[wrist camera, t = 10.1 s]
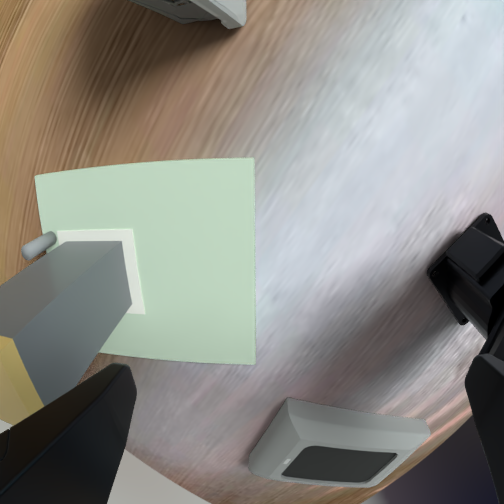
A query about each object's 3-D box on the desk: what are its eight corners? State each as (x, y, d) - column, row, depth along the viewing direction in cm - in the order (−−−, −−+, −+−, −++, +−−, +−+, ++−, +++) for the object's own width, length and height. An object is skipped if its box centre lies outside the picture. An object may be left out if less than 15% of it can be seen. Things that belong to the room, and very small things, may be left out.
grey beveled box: (379, 492, 25) (247, 481, 24) (373, 467, 29) (249, 452, 28) (434, 442, 22) (289, 427, 21) (423, 416, 26) (287, 393, 24)
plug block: (121, 240, 19) (-3, 353, 8) (132, 304, 21) (44, 437, 10) (65, 241, 19) (-60, 333, 8) (78, 300, 21) (-19, 410, 10)
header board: (254, 157, 18) (251, 162, 14) (255, 359, 23) (253, 393, 19) (39, 174, 19) (6, 183, 15) (76, 344, 23) (56, 370, 20)
